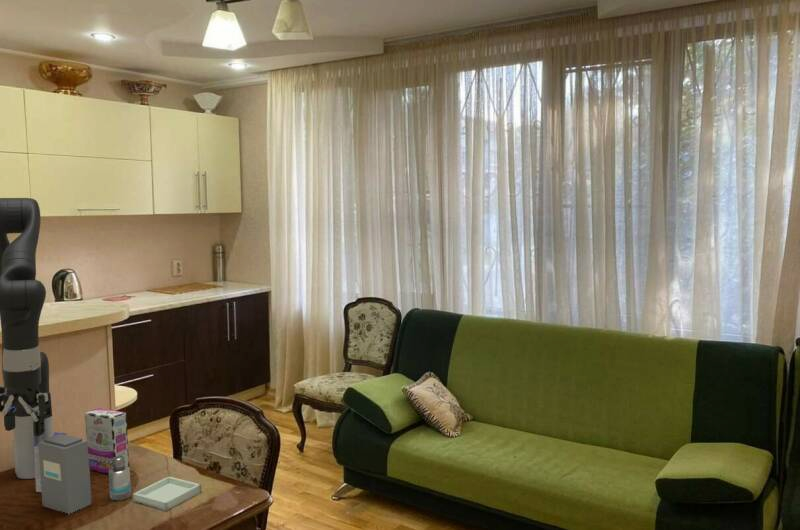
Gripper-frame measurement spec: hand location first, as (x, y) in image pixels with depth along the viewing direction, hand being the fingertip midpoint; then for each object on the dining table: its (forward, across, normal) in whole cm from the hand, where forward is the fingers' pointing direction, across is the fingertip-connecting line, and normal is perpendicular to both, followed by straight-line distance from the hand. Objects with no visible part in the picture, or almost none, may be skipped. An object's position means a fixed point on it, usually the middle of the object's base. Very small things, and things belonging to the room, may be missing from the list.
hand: (24, 432), depth 152 cm
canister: (+19, +16, +13) cm, 28 cm away
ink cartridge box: (+21, -3, +12) cm, 24 cm away
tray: (+18, +27, +16) cm, 37 cm away
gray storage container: (+20, +6, +6) cm, 21 cm away
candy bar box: (+21, +1, +26) cm, 33 cm away
